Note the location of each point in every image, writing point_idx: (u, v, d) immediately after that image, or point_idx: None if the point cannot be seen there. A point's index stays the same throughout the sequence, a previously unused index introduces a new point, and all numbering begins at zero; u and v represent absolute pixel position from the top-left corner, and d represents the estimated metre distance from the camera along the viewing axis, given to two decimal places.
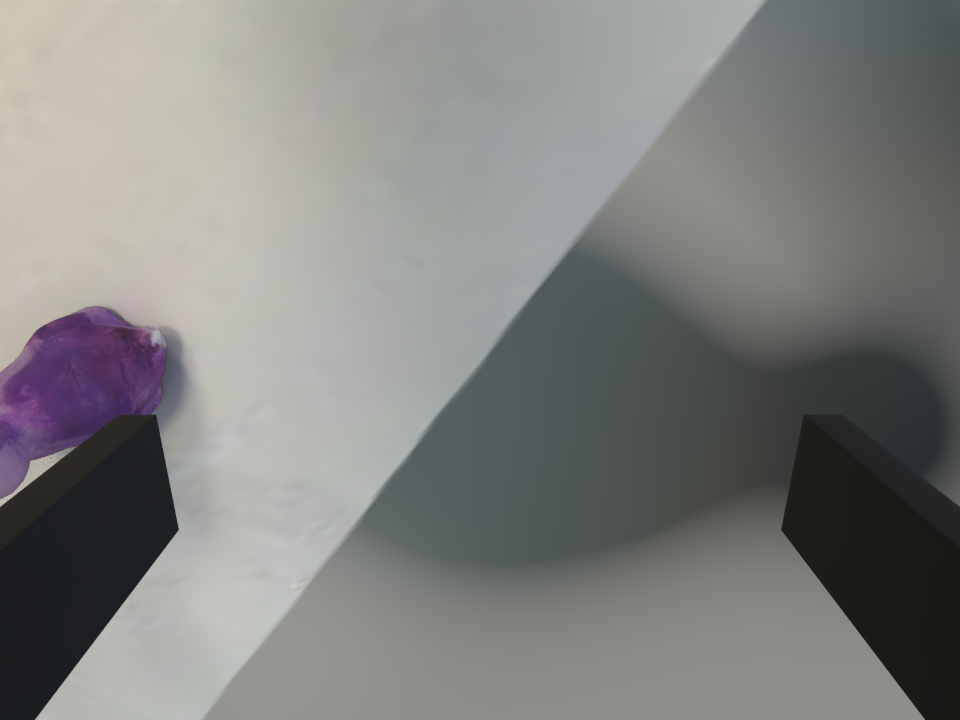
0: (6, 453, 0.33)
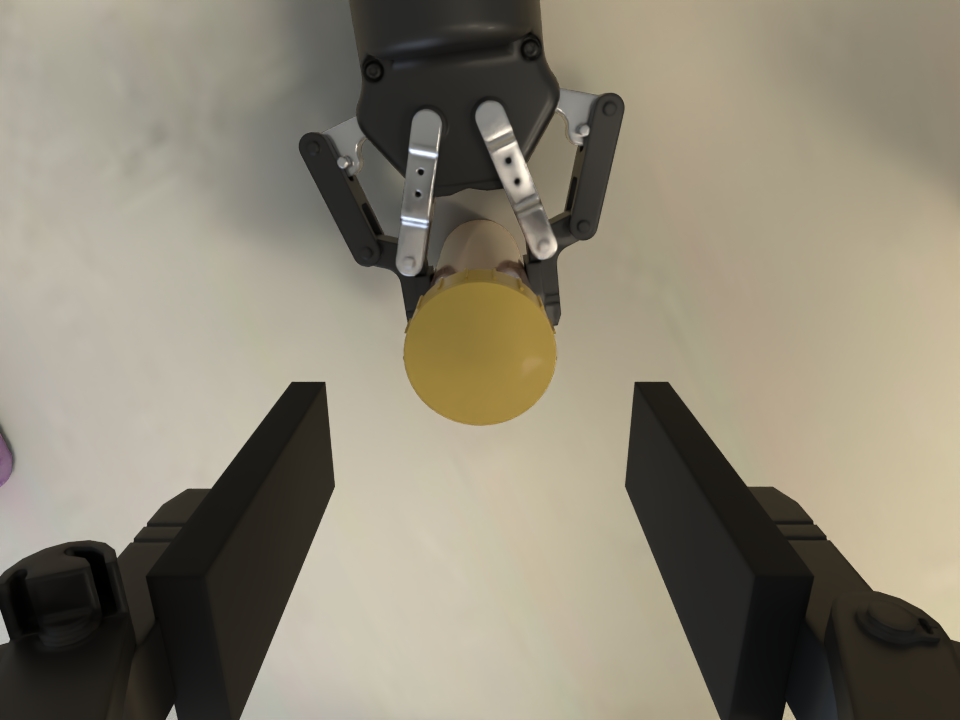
0: None
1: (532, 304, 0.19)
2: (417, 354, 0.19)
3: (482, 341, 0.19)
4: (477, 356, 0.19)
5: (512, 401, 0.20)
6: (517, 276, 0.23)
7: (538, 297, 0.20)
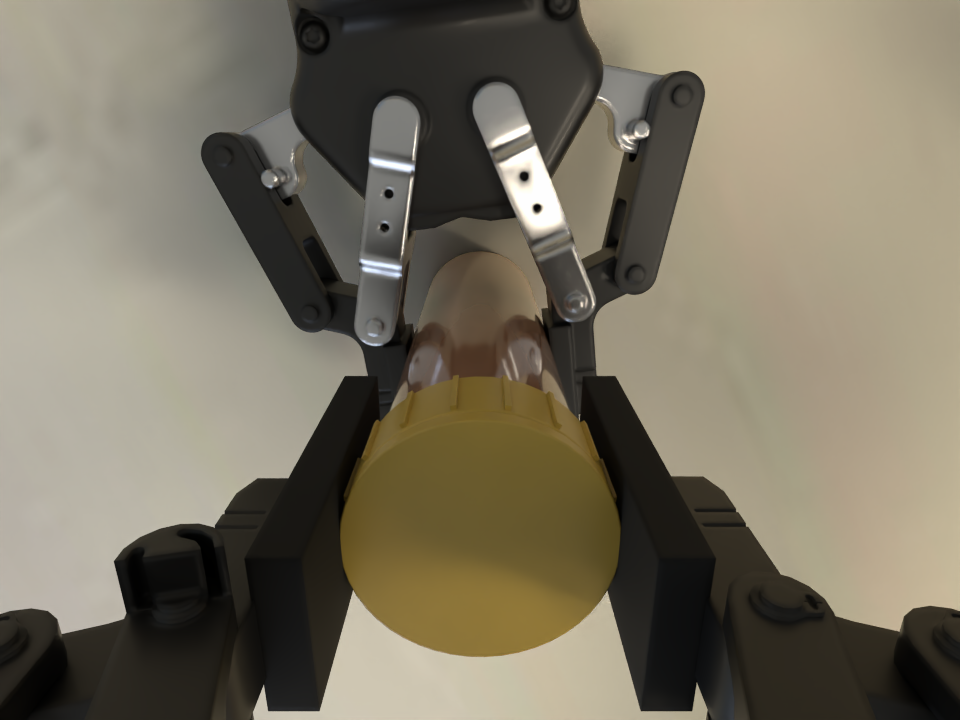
0: None
1: (580, 459, 0.10)
2: (364, 544, 0.10)
3: (484, 522, 0.10)
4: (475, 547, 0.11)
5: (539, 620, 0.11)
6: (542, 371, 0.14)
7: (584, 426, 0.11)
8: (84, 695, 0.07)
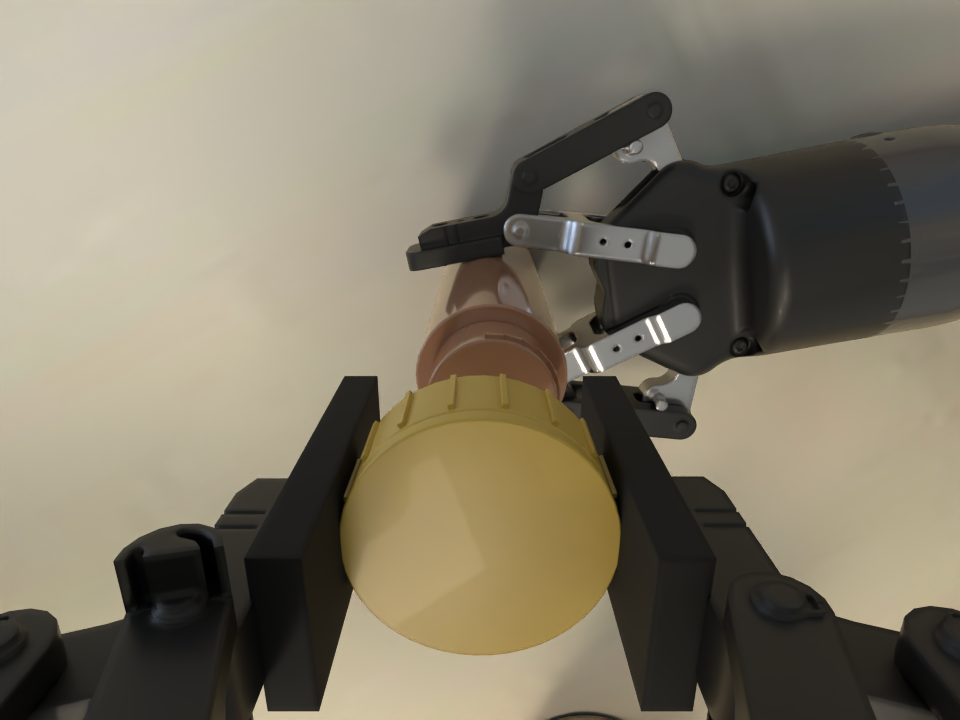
0: None
1: (382, 457, 0.10)
2: (467, 637, 0.11)
3: (450, 541, 0.10)
4: (479, 550, 0.11)
5: (577, 499, 0.10)
6: None
7: (405, 399, 0.11)
8: (84, 695, 0.07)
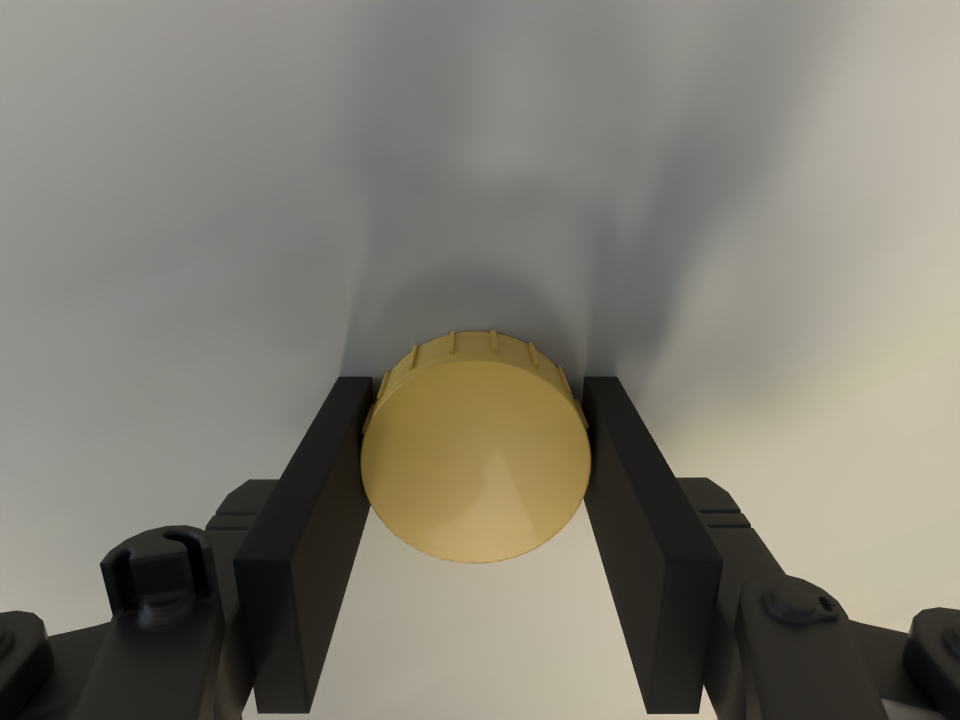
0: None
1: (396, 392, 0.12)
2: (466, 547, 0.14)
3: (451, 463, 0.13)
4: (475, 471, 0.13)
5: (554, 427, 0.13)
6: None
7: (412, 351, 0.14)
8: (70, 697, 0.07)
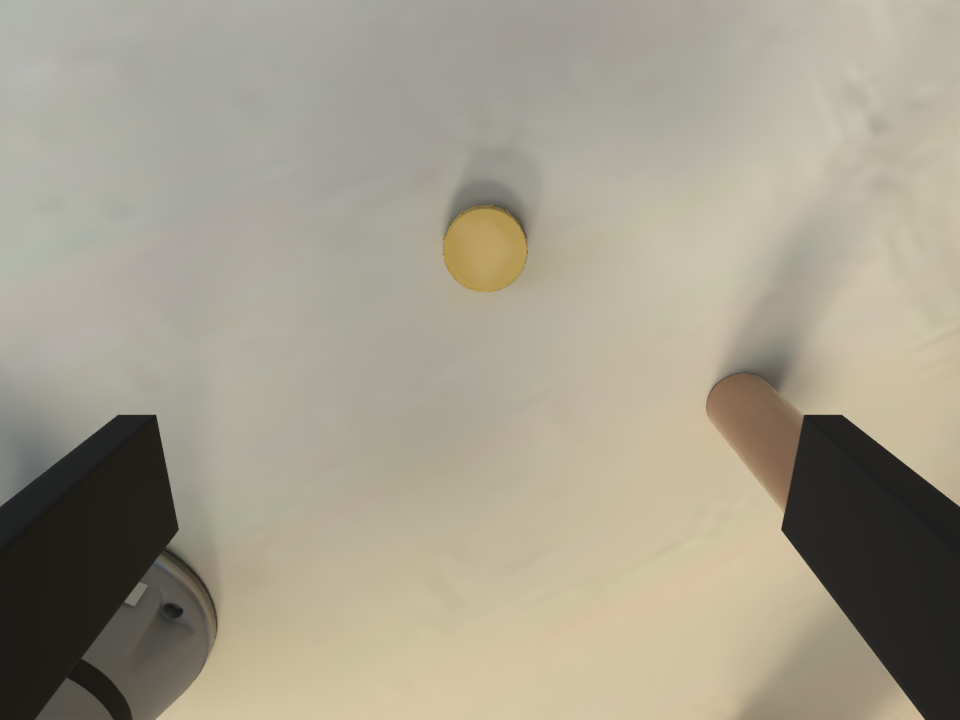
0: None
1: (457, 220, 0.35)
2: (481, 284, 0.36)
3: (476, 249, 0.35)
4: (484, 252, 0.36)
5: (513, 234, 0.35)
6: None
7: (461, 211, 0.36)
8: None
